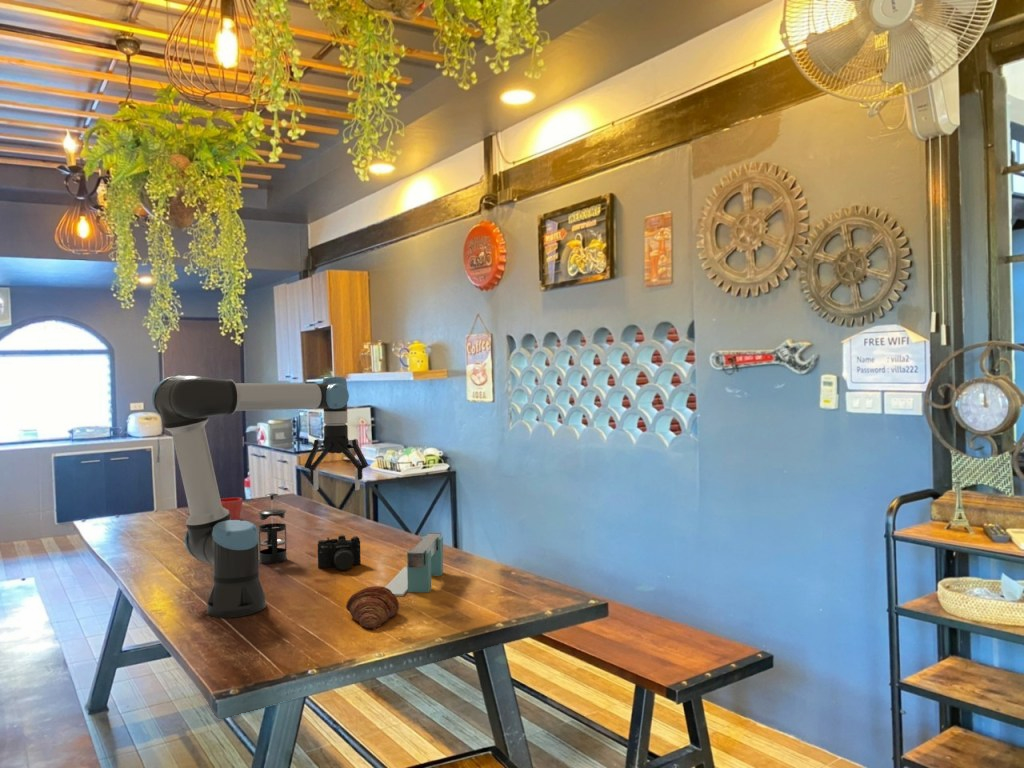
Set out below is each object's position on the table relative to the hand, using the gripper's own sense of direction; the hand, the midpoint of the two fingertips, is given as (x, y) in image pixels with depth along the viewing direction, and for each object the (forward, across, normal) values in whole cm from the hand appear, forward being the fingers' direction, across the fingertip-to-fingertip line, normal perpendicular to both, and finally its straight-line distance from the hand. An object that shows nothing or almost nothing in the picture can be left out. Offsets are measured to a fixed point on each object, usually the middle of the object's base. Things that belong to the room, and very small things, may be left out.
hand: (336, 490), depth 243 cm
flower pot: (+27, +72, -81) cm, 112 cm away
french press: (+27, +27, -14) cm, 40 cm away
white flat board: (+26, -24, +12) cm, 37 cm away
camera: (+27, +1, -4) cm, 27 cm away
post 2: (+26, -31, +3) cm, 41 cm away
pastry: (+27, -23, +45) cm, 57 cm away
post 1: (+26, -30, +21) cm, 45 cm away
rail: (+18, -31, +12) cm, 38 cm away
